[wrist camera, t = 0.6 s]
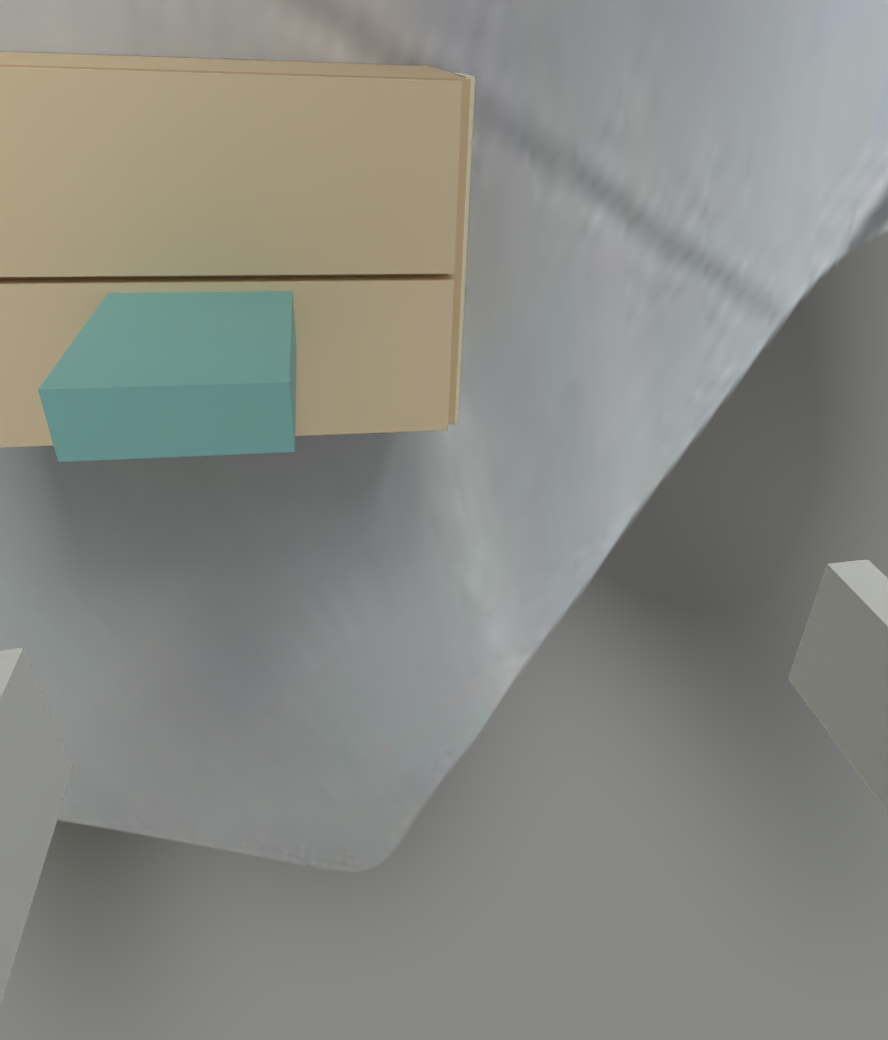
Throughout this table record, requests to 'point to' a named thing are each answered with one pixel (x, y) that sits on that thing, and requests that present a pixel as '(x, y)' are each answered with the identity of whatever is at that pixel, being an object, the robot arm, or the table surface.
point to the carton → (234, 171)
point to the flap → (219, 362)
